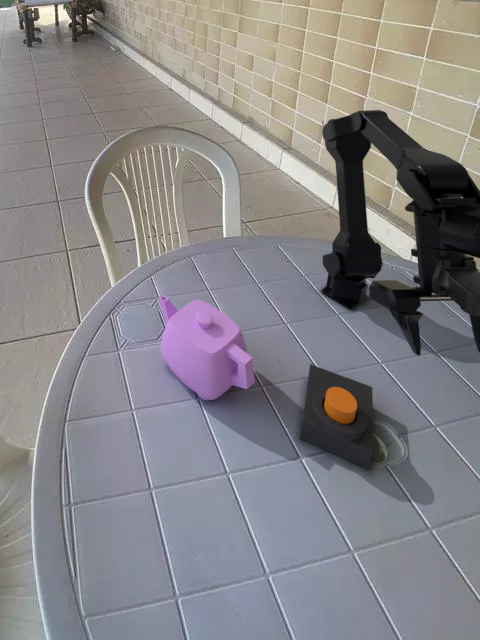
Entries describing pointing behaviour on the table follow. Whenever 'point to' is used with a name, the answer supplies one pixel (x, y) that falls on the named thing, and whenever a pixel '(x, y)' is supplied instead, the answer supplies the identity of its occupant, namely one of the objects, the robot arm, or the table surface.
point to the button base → (332, 435)
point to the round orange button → (340, 405)
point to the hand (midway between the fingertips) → (449, 354)
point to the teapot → (205, 349)
